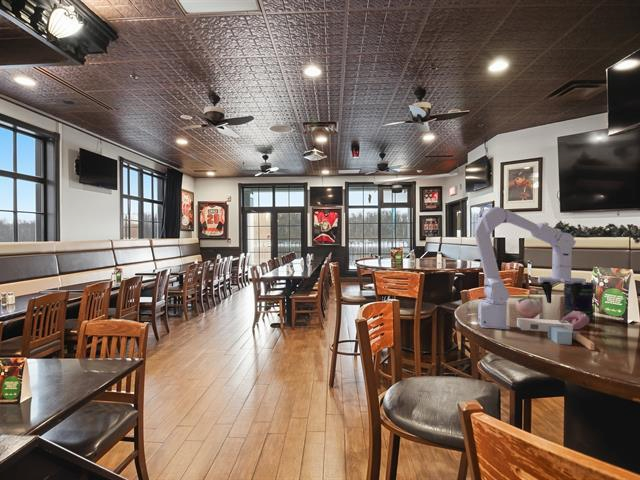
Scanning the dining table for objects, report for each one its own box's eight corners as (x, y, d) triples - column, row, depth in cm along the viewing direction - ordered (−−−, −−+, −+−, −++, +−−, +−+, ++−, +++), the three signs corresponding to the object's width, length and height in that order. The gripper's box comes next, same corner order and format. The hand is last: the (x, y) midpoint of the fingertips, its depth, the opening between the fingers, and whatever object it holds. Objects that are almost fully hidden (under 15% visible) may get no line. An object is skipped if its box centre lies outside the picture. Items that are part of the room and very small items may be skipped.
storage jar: (585, 323, 137) (586, 285, 137) (558, 318, 146) (558, 281, 145) (598, 320, 142) (598, 283, 142) (570, 315, 151) (571, 280, 150)
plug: (555, 343, 112) (555, 331, 112) (547, 337, 119) (547, 325, 119) (573, 345, 111) (573, 332, 111) (564, 338, 117) (564, 326, 117)
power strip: (521, 330, 127) (522, 320, 127) (516, 325, 133) (517, 316, 133) (573, 333, 123) (573, 323, 123) (565, 328, 129) (565, 319, 129)
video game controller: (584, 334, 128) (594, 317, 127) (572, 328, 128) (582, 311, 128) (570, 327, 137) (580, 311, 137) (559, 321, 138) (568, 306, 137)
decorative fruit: (530, 316, 148) (531, 292, 148) (545, 321, 140) (546, 296, 140) (510, 317, 147) (510, 293, 146) (524, 322, 138) (524, 296, 138)
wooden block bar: (596, 350, 105) (596, 342, 105) (588, 349, 105) (589, 341, 105) (578, 338, 116) (578, 331, 116) (572, 338, 117) (572, 331, 117)
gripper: (543, 266, 126) (542, 304, 127) (590, 267, 123) (589, 306, 123) (536, 264, 133) (535, 300, 133) (580, 265, 129) (580, 302, 130)
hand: (560, 303), depth 129 cm, fingers open, 7 cm apart
